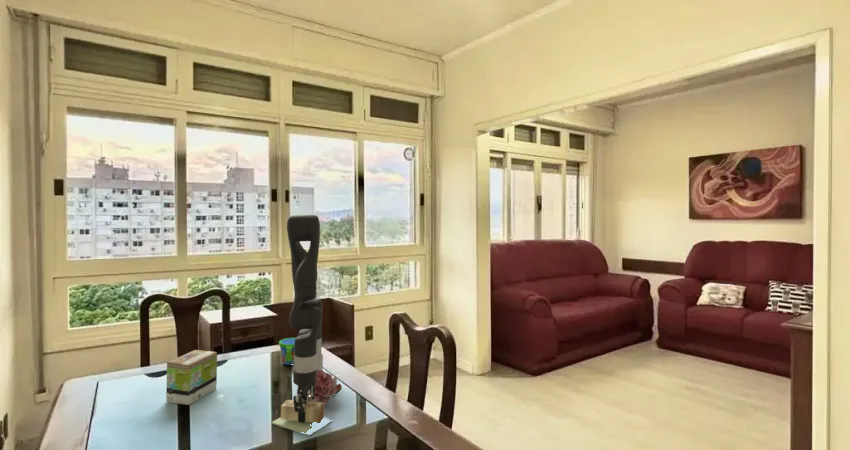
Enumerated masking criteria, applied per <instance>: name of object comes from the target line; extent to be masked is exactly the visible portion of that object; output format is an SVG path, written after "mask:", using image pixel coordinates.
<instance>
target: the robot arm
mask: <svg viewBox="0 0 850 450" xmlns="http://www.w3.org/2000/svg"><path fill="white" fill-rule="evenodd" d="M286 232H287V239H288V243H289V244H288V245H289V250H290V258H291V259H290V261H291V274H292V275H291V276H292V283H293V284H292V285H293V292H294V297H293V302H292V307H291V310H290V313H289V315H288V325H289V327H290V328H291V329H292V330H295V331H296V330H299V331H298V333H297V336H296V337H294V338H295V342H294V362H293V365H292V366H293V368H292V371H293V374H292V375H293V376H292V378H293V380H292V382H293V384H295V385H296V386H297V389H296V395H294V396H293V397H292V398H293V400H294V408H295V412H298V422H299V423H304V422H305V410H306V404H307V403H308V402H312V400H313V399H314V395H315V385H316V381H317V370H322V371H324V369H323V368H324V365H323V364H324V360H323V359H324V358H323V357H324V355H323V354H322V344H323V343H322V340H323V339H322V338H323V335H322V330H323V329H322V327H323V324H322V323H323V312H324V311H323V307H324V306H323V305H324V304H323V301H322V299H321V298H317V281H318V260H319V249H320V241H321V239H320V237H321V224H320V218H319V217H318V215H316V214H295V215H290V216H289V217H288V219H287V220H286ZM301 242H310V243H309V248H308V250H306V248H304V247H303V246H302V244H301ZM303 400H304V401H303Z"/></svg>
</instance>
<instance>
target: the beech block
mask: <svg viewBox="0 0 850 450" xmlns="http://www.w3.org/2000/svg"><path fill="white" fill-rule="evenodd" d="M325 408H326V404H325V403H319V402H308V403H307V404H306V410H305V421H306V422H317V423H320V422H321V420H322V419H323V418H324V417H325V416H326V415H325ZM280 417H281V419H284V420H295V421H298V412H295V408H294V400H292V399H286V400H285V401H284V402H283V403H282V404H281V405H280Z"/></svg>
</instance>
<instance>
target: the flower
mask: <svg viewBox="0 0 850 450" xmlns="http://www.w3.org/2000/svg"><path fill="white" fill-rule="evenodd" d="M342 389H343V387H342V384H341V383H338V378H337V377H336V376H334V377H332V375H331V373H328V372H326V371H324V370H323V371H322V370H317V381H316V385H315V395H314V399H313V400H312V402H319V403H325V405H326V404H328V403H329V402H330V400H331V398H332V397H331V396H334V394H336V395H337V394H338V393H339V392H340V391H341V390H342ZM303 401H304V400H303Z"/></svg>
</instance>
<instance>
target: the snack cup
mask: <svg viewBox="0 0 850 450" xmlns="http://www.w3.org/2000/svg"><path fill="white" fill-rule="evenodd" d="M295 338H296V337H287V338H286V337H285V338H282V339H281V340H279V341H278V345H279V347H280V354H281V361H282V364H283V365H284V364H286V366H288V365H291V364H293V362H294V342H295ZM291 366H292V365H291Z"/></svg>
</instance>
